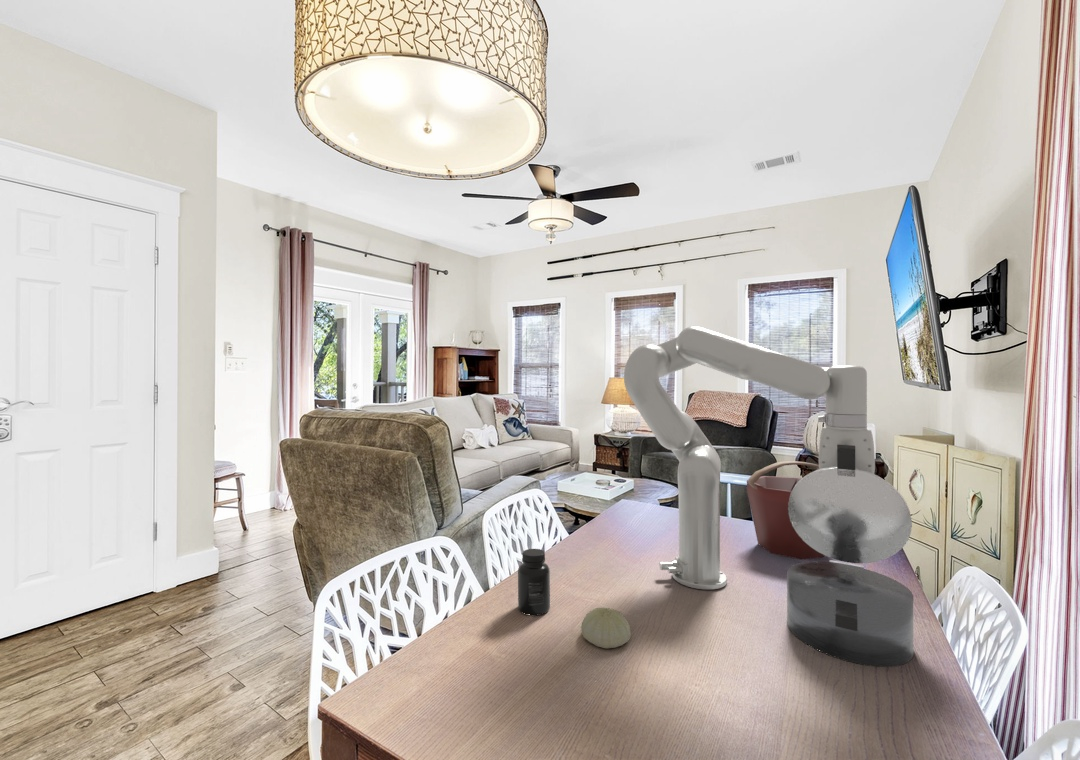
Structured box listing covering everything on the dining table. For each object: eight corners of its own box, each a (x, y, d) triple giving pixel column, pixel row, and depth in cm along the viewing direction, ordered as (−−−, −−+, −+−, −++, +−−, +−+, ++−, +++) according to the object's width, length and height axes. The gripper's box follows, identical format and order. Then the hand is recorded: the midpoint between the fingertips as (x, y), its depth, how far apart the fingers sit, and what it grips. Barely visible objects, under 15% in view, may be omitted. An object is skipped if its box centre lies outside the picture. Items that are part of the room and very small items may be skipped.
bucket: (824, 539, 142) (824, 457, 142) (858, 567, 121) (857, 471, 121) (738, 533, 147) (738, 454, 147) (756, 560, 126) (756, 467, 126)
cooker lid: (914, 452, 86) (912, 447, 88) (786, 444, 97) (787, 439, 99) (910, 573, 91) (908, 566, 93) (789, 552, 103) (790, 546, 105)
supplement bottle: (555, 604, 101) (555, 549, 101) (542, 619, 95) (541, 560, 95) (526, 598, 104) (526, 544, 104) (512, 612, 97) (512, 555, 97)
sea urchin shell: (603, 649, 81) (585, 603, 86) (585, 664, 86) (569, 619, 91) (644, 636, 85) (624, 592, 90) (625, 650, 90) (607, 608, 95)
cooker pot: (925, 701, 70) (925, 634, 70) (777, 657, 81) (777, 600, 81) (906, 623, 93) (906, 573, 93) (792, 598, 104) (792, 553, 104)
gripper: (805, 421, 103) (805, 504, 103) (890, 425, 95) (890, 515, 95) (807, 419, 109) (807, 497, 109) (887, 422, 101) (887, 507, 101)
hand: (846, 505), depth 102 cm, fingers closed
